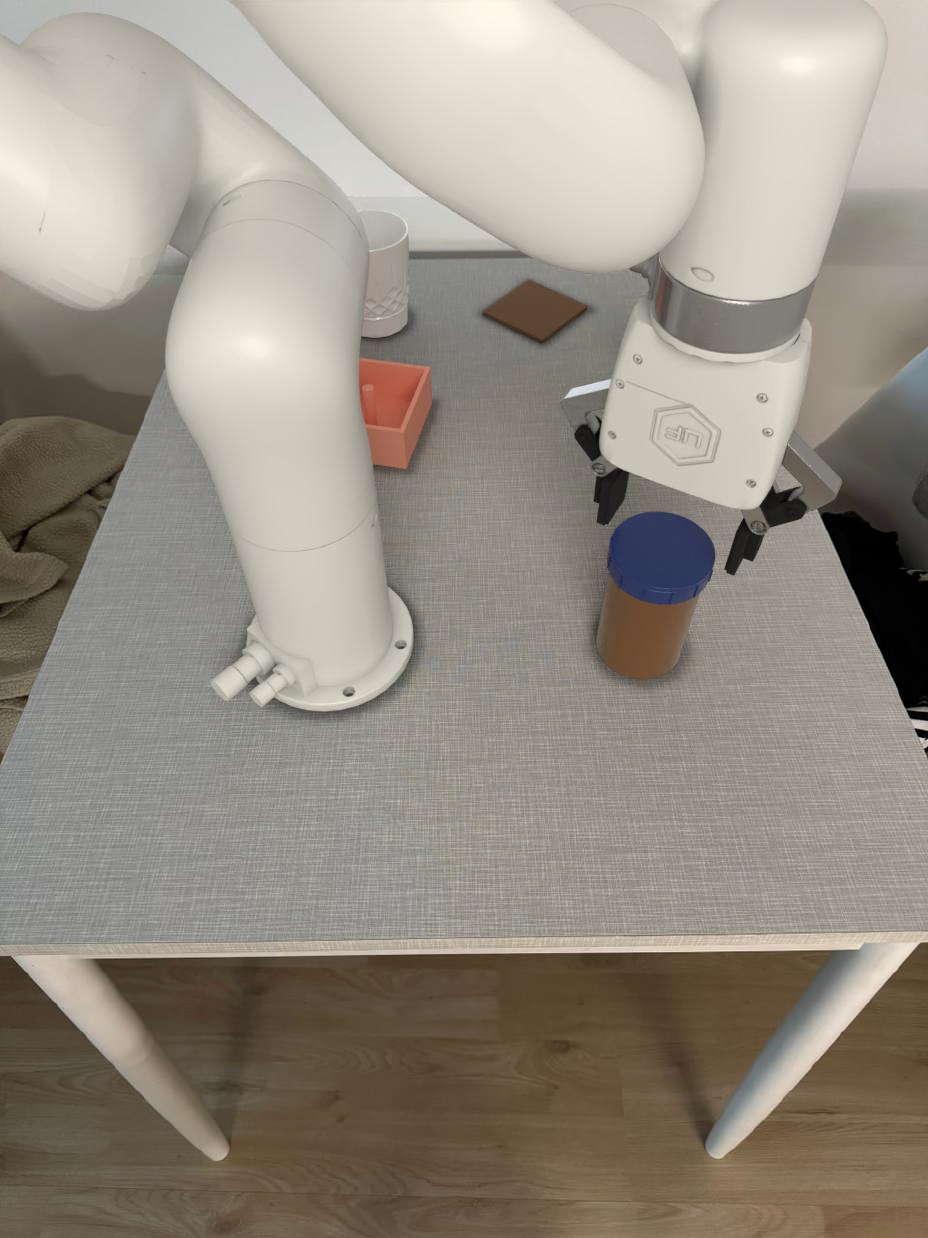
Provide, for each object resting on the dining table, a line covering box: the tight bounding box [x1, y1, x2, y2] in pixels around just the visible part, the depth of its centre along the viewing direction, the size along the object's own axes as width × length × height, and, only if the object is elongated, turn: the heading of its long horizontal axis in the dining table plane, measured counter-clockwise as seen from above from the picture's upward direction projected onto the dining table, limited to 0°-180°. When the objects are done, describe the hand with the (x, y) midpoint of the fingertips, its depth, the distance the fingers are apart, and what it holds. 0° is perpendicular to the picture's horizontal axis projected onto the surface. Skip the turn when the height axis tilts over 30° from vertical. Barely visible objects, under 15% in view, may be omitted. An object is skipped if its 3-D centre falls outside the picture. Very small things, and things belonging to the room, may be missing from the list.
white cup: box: [357, 209, 410, 339], centre depth 89 cm, size 8×8×10 cm
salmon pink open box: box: [359, 357, 433, 470], centre depth 79 cm, size 18×10×10 cm, turn 77°
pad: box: [482, 279, 588, 344], centre depth 94 cm, size 8×8×1 cm
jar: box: [595, 572, 701, 680], centre depth 63 cm, size 6×6×10 cm
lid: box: [606, 510, 716, 605], centre depth 59 cm, size 7×7×2 cm
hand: (672, 534), depth 57 cm, fingers open, 8 cm apart
